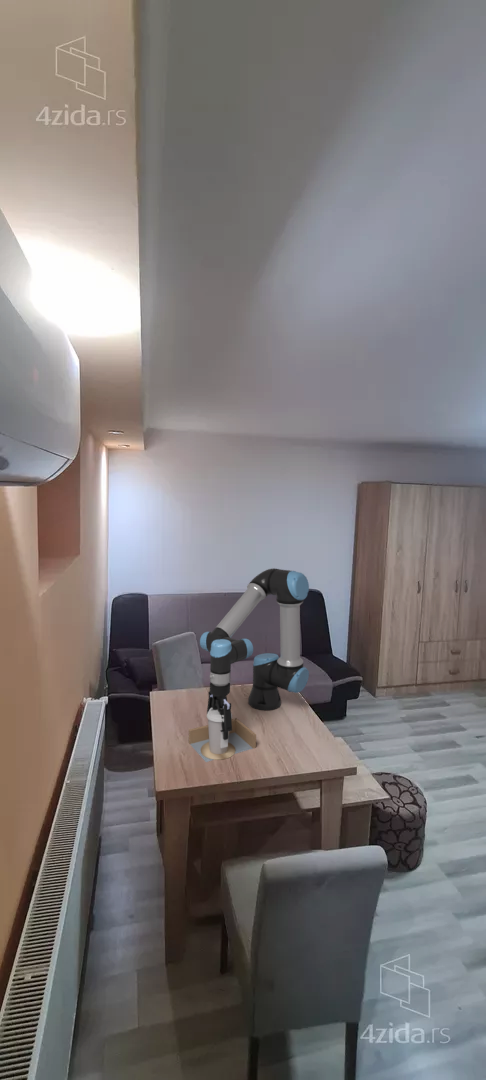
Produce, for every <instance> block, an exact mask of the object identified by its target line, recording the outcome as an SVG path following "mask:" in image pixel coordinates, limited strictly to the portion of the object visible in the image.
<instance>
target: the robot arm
mask: <svg viewBox="0 0 486 1080" xmlns="http://www.w3.org/2000/svg"><path fill="white" fill-rule="evenodd" d="M246 587H247V589H246V590H245V591H244V593H242V595H241V597H239V598H238V599H237V601H236V602H235V603H234V604H233V606H232V607H231V608H230V610H229V611H228V612H227V613H226V614H225V616H224V617H223V618H222V619H221V620H220V622H219V623H218V624H217V625H216V626H215V628H214V629H213V630H212V631H205V632H203V633H202V634H201V636H200V638H199V646H200V648H201V649H202V650H204V651H205V652H208V653H210V654H209V655H210V657H209V658H210V663H209V664H210V666H209V667H210V669H209V670H210V671H209V673H210V674H209V682H210V683H209V691H208V694H207V695H208V700H207V709H206V714H207V713H208V711H209V709H210V708H213V710H217V709H218V712H219V713H220V715H221V717H222V715H224V717H222V719H223V718H224V722H223V721H222V724H221V726H222V730H220V731H221V740H220V748H224V747H228V731H232V720H231V713H232V703H231V702H228V698H227V696H228V695H229V694H230V693H231V667H232V666H231V665H233V664H235V663H237V662H240V661H243V660H246V659H248V658H250V657H251V656H252V655H253V653H254V646H253V642H251V640H250V639H248V638H239V639H235V638H232V637H233V636H234V634H235V633H236V632H237V630H238V629H239V628H240V627H241V625H242V624H243V623H244V622H245V621H246V619H247V618H248V616H250V614H251V613H252V612H253V611H254V609H255V608H256V607H257V605H258V604H259V603H260V602H261V601H262V600H265V599H266V598H267V597H268V596H270V595H273V596H276V598H275V599H276V600H275V601H276V603H277V604H278V605H279V628H280V629H279V630H280V631H279V632H280V633H279V637H280V638H279V639H280V640H279V641H280V643H279V644H280V647H279V649H280V652H279V653H280V656H279V655H278V654H277V653H271V652H270V653H269V652H268V653H267V652H266V653H260V654H257V655H255V656H254V658H253V664H252V666H253V667H252V687H251V690H250V693H249V696H248V705H249V706H250V708H253V709H256V710H260V711H273V710H277V709H279V708H280V707H281V705H282V704H281V703H282V700H281V695H280V692H279V689H283V690H285V691H287V692H290V693H294V694H298V693H301V692H302V691H303V690H304V689H305V687H306V685H307V683H308V682H309V677H310V671H309V670H308V668H307V667H305V666H304V659H303V658H301V640H300V639H301V629H300V628H301V625H300V624H301V623H300V621H301V616H300V615H301V611H300V610H301V608H300V606H301V605H302V604H303V603H304V600H305V599H306V598H307V597H308V593H309V591H310V590H309V589H310V585H309V581H308V579H307V576H305V574H304V573H302V572H301V571H300V572H299V571H296V570H289V569H288V570H287V569H282V568H281V569H280V568H275V567H274V568H273V567H272V568H268V569H266V570H263V571H261V572H260V573H259V574H257V575H256V576H255V577H253V579H251V580H250V581H249V583H248V584H247V586H246ZM220 708H224V709H220Z"/></svg>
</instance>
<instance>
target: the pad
mask: <svg viewBox="0 0 486 1080" xmlns="http://www.w3.org/2000/svg"><path fill="white" fill-rule="evenodd" d="M201 753H202V755H203V756H205V757H206V758H209V759H213V760H212V761H214V760H215V761H222V760H226V759H229V758H232V757H233V756H234V755H235V747H234V746H233V745H232V744H231V743H229V742H228V747H227V751H226V752H225V753H223V754H214V753H212V752H211V751H210V748H209V742H207V743H205V744H204V745H203V746H202V747H201Z"/></svg>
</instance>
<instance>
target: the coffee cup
mask: <svg viewBox="0 0 486 1080" xmlns="http://www.w3.org/2000/svg"><path fill="white" fill-rule="evenodd" d="M220 709H224V708H220ZM222 717H224V715H222ZM222 717H221V715H220V713H219V712H218V709H217V710H213V708H210V709H209V711H208V713H207V712H206V718H207V725H208V729H209V748H210V751H211V752H212V753H214V754H223V753H225V752H226V751H227V747H224V748H220V740H221V731H220V730H222V726H221V724H222V721H223V722H224V718H223V719H222ZM231 719H233V714H232V712H231ZM228 737H229V731H228Z"/></svg>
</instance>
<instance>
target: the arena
mask: <svg viewBox="0 0 486 1080" xmlns="http://www.w3.org/2000/svg"><path fill="white" fill-rule="evenodd" d="M231 720H232V731H229V737H228V742H229V743H231V744H232V745H233V746H234V747H235V754H240V753H243V752H246V751H249V750H253V749H256V747H257V734H256V733H255V732H254V731H252V729H250V728H249V727H248V726H247V725H245V724H244V723H243V722H242V721H241V720H239V719H238V718H237V717H235V718H232V719H231ZM207 742H209V729H208V724H207V725H206V724H205V725H203V726H199V727H194V728H190V729H188V744H189V745H190V746H191V747H192V749H194V751H195V752H196V753H197V754H198V755H199V756H200V757H201V759H203V761H204V762H205V763H209V762H212V761H214V760H213V759H209V758H206V757H205V756H203V755H202V753H201V747H202V746H203V745H204V744H205V743H207ZM235 754H234V755H235Z"/></svg>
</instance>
